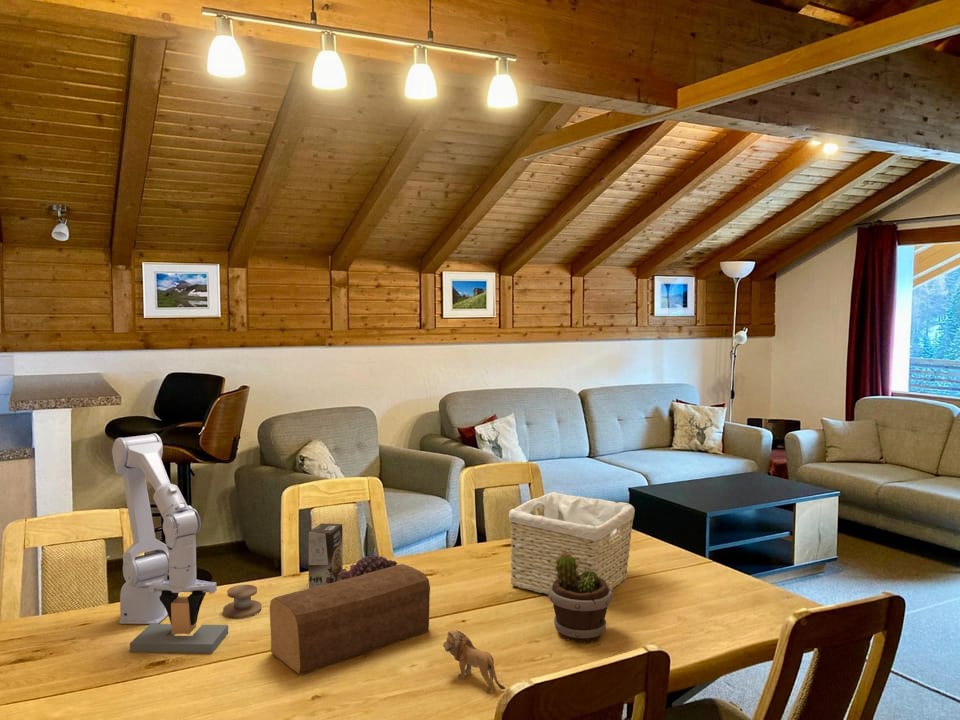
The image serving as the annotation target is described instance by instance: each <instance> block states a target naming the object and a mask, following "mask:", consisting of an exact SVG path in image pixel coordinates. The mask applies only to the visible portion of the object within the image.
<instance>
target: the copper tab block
mask: <svg viewBox="0 0 960 720" xmlns="http://www.w3.org/2000/svg"><path fill="white" fill-rule="evenodd" d="M188 596H189V595H188ZM188 596H184V595H183V596H182V595H180V596H179V595H178V597H177V598H176V599H175V600H174V601H173V602H172V603H171V622H170V624H172V634H175V635H177V634H179V635H190V634H191V633H192V632H193V631H194V630H195V629H196V628H197V622H196V623H195V624H194V625H191V622H190V607H189V602H188Z"/></svg>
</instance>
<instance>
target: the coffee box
mask: <svg viewBox="0 0 960 720" xmlns="http://www.w3.org/2000/svg"><path fill="white" fill-rule="evenodd" d="M343 550H344V549H343V524H342V523H323V522H321V523H320V524H319V525H317V526H315V527H314V528H313V529H311V530H309V531H308V589H309V588H313V587H317V586H320V585H324V584H329V583H334V582H337V581H340V580H342V579H341V578H340V576H337V574H339V573H341V571H342V570H343V569H344V568H343V565H344V564H343Z"/></svg>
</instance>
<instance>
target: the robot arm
mask: <svg viewBox="0 0 960 720" xmlns="http://www.w3.org/2000/svg"><path fill="white" fill-rule="evenodd" d="M163 450H164V448H163V442H162V438H161V437H160V436H159V434H157V433H156V432H155V433H150V434H145V435H144V434H143V435H136V436H128V437H127V436H126V437H117V438H116V439H115V441H114V442H113V445H112V448H111V454H112V461H113V466H114V470H115V473H116V474H118V475H120V476H121V477H122V482H123V487H124V488H123V489H124V494H125V500H126V506H127V513H128V518H129V525H130V531H131V537H132V544H131V545H130V546H128V548H127V549H126V551H124V553H123V554H122V561H123V562H122V574H123V578H124V580H125V582H124V584H123V585H122V586H121V588H120V594H119V603H120V604H119V609H120V610H119V611H120V620H119V622H118V623H119V624H128V625H129V624H130V625H132V624H133V625H138V624H139V625H150V624H161V622H162V621H164V620H165V618H166V617H167V616H168V618H169V622H170V624H171V603H172V602H173V601H174V600H175V599H176V598H177V597H178V596H179V593H190V595H188V602H189V607H190V622H191V625H194V624H195V623H196V624H197V623H198V617H199V613H200V608H201V606H202V603H203V601H204V598H205V596H206V594H207V593H209V595H211V594H215V593H216V591H217V582H215V581H206V580H201V579H197V547H196V546H197V542H196V540H197V538H196V535H197V534H198V533H200V530H201V526H202V525H201V517H200V515H199V512H198V510H196V509H195V508H194V507H192V505H188V504H187V502H186V499H185V498H184V496H183V494H182V492H181V490H180V488H179V487H178V485H176V484H174V483H171V481H170V478H169V476H168V474H167V471H166V469H165V465H164V463H163V460H162V458H163ZM146 479H148V481H149V483H150V484H151V485H150V486H152V488H153V489H154V494H153V497H152V498H153V501H154V503H155V505H156V507H157V508H158V511H159V513H160V515H161V517H162V519H163V523H162V530H163V534H164V536H165V543H164V542H162V541H160V539H157V538H156V533H155V527H154V521H153V514H152V509H151V504H150V498H149V492H148V487H147V480H146ZM150 552H151V553H150ZM144 553H148V554H144ZM140 554H141V555H140ZM171 625H172V624H171Z"/></svg>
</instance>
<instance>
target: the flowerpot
mask: <svg viewBox="0 0 960 720" xmlns="http://www.w3.org/2000/svg"><path fill="white" fill-rule="evenodd" d="M564 549H565V548H564ZM565 550H566V549H565ZM561 552H562V551H561ZM565 552H566V551H565ZM571 552H572V551H571ZM571 552H570V553H569V552H568V553H564V552H563V554H562V556H560V555H559V556H560V558H559V559H558V560H557V562H556V561H555V562H556V563H557V564H556V565H557V567H555V569H554V570H555V571H558V572H557V573H558V575H556V574H555V575H556V577H555V578H558V579H556V580H555V581H554V583H553V584H552V585H551V586H550V588H549V594H548V599H549V601H550V602H551V603H552V606H553V610H554V614H555V616H554V618H553V623H554V628H555V629H556V631H557V632H558V635H559V636H561V637H562V638H564V639H566V640H568V641H571V642H576V643H577V642H581V643H586V642H588V641H589V642H593V641H594V642H595V641H596V640H598V639H600V637H601V636H602V634H604V632H605V630H606V626H607V620H606V619H605V618H606V615H607V611H608V607H609V606H610V605H611V604H612V603H613V589H612V590H611V588H610V587H608V585H607V583H606V582H605V580H603V579H602V578H599V577H598V576H597V574H596V573H595V572H596V571H595V569H592V570H594V571H595V572H593V571H592V570H591V569H589V571H586V570H585V572H584V573H582V574H581V575H577V574H578V573H579V572H578V570H577V572H576V568H577V567H578V565H577V564H576V561H575V560H577V559H576V558H575V559H574V557H571V556H570V555H572V554H571ZM567 554H568V555H567ZM559 556H557V557H559ZM579 566H580V565H579ZM591 567H592V566H591ZM591 567H590V568H591ZM578 568H579V567H578ZM588 568H589V567H588ZM588 568H587V569H588ZM583 571H584V570H583Z"/></svg>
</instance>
